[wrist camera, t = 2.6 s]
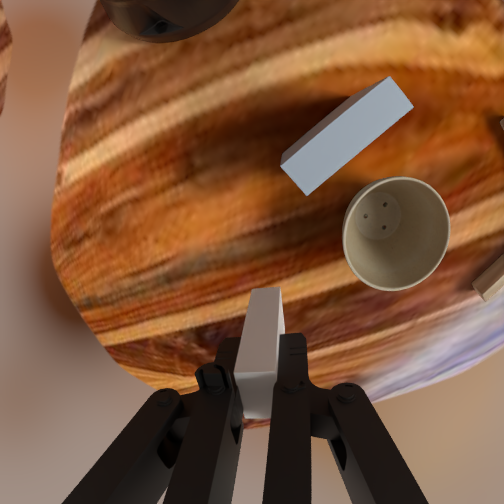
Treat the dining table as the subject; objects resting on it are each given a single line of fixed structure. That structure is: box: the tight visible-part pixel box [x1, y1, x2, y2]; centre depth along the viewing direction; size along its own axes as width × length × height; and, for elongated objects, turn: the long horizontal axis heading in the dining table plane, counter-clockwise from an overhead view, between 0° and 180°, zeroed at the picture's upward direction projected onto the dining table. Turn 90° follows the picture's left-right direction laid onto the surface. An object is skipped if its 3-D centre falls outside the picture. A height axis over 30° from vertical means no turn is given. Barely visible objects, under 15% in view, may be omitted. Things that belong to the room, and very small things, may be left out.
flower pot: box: [342, 176, 450, 291], centre depth 27 cm, size 10×10×7 cm
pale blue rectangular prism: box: [280, 76, 413, 196], centre depth 22 cm, size 2×9×12 cm, turn 133°
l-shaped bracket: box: [471, 118, 504, 302], centre depth 27 cm, size 16×16×3 cm
